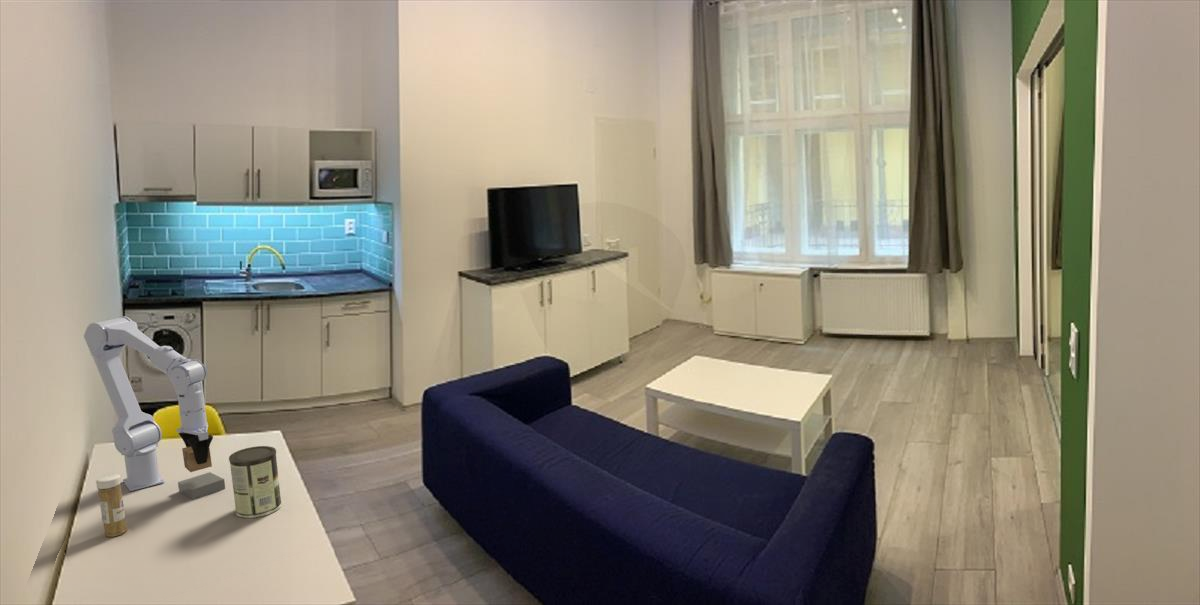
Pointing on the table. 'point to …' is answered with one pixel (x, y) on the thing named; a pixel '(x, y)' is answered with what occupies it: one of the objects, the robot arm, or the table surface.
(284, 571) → the table surface
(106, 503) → the sprinkles bottle
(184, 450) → the walnut cube
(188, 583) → the table surface
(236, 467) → the coffee can
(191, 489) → the slate slab
